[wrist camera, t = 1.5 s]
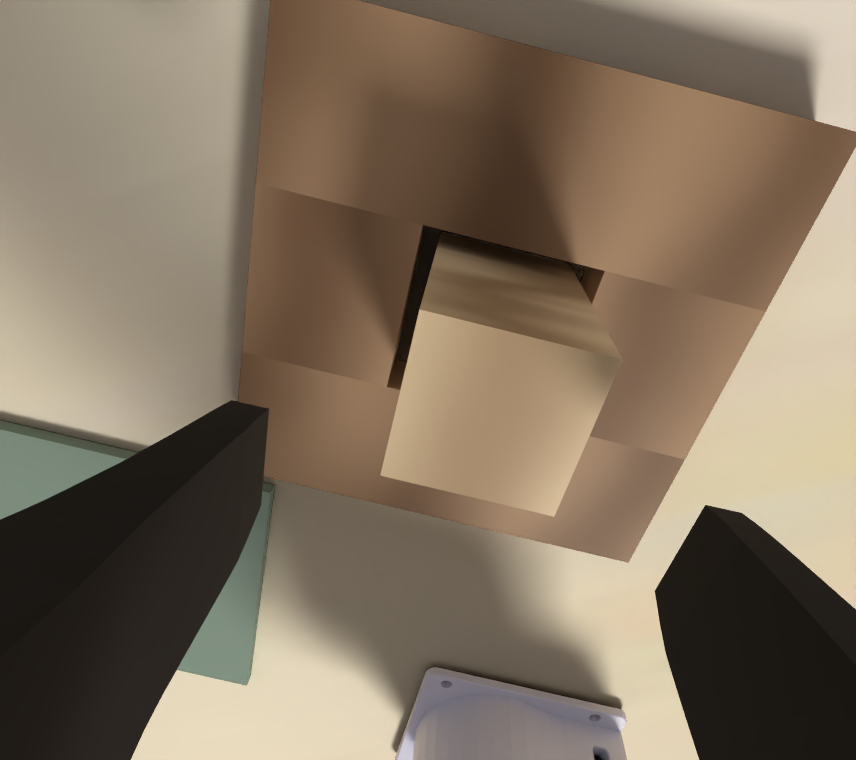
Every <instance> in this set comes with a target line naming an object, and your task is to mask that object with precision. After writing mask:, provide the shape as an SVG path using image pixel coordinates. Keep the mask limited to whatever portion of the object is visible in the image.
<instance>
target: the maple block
mask: <svg viewBox="0 0 856 760" xmlns="http://www.w3.org/2000/svg"><path fill="white" fill-rule="evenodd" d="M622 360H623V359H622V357H621V356H620V354H619V352H618V350H617V348H616V347H615V345H614V343H613V341H612V340H611V338H610V336H609V334H608V332H607V331H606V329H605V327H604V325H603V323H602V322H601V320H600V318H599V316H598V314H597V313H596V311H595V309H594V307H593V305H592V304H591V302H590V300H589V298H588V297H587V295H586V293H585V291H584V289H583V288H582V286H581V284H580V282H579V280H578V279H577V277H576V275H575V273H574V271H573V270H572V268H571V266H570V264H567V263H563V262H559V261H556V260H552V259H548V258H544V257H540V256H536V255H532V254H528V253H524V252H520V251H516V250H512V249H508V248H504V247H500V246H496V245H492V244H488V243H484V242H480V241H476V240H472V239H468V238H464V237H460V236H456V235H452V234H448V233H444V232H441V235H440V238H439V242H438V246H437V249H436V253H435V256H434V260H433V263H432V267H431V270H430V274H429V277H428V281H427V284H426V288H425V291H424V295H423V299H422V302H421V306H420V309H419V313H418V318H417V322H416V326H415V330H414V335H413V339H412V343H411V347H410V352H409V356H408V360H407V364H406V368H405V373H404V377H403V381H402V385H401V390H400V394H399V398H398V402H397V407H396V411H395V415H394V419H393V424H392V428H391V432H390V436H389V441H388V445H387V449H386V453H385V458H384V462H383V466H382V470H381V475H380V476H385V477H389V478H393V479H397V480H401V481H406V482H410V483H414V484H418V485H423V486H427V487H431V488H435V489H439V490H444V491H448V492H452V493H456V494H460V495H465V496H469V497H473V498H477V499H482V500H486V501H490V502H494V503H498V504H503V505H507V506H511V507H515V508H520V509H524V510H528V511H532V512H536V513H541V514H545V515H549V516H553V517H554V516H555V514H556V512H557V509H558V507H559V505H560V502H561V500H562V498H563V496H564V493H565V491H566V489H567V486H568V484H569V482H570V480H571V477H572V475H573V473H574V470H575V468H576V466H577V463H578V461H579V459H580V457H581V454H582V452H583V450H584V447H585V445H586V443H587V441H588V438H589V436H590V434H591V431H592V429H593V427H594V424H595V422H596V420H597V418H598V415H599V413H600V411H601V408H602V406H603V404H604V402H605V399H606V397H607V395H608V392H609V390H610V388H611V386H612V383H613V381H614V379H615V376H616V374H617V372H618V369H619V367H620V365H621V363H622Z"/></svg>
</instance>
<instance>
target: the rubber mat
mask: <svg viewBox="0 0 856 760" xmlns="http://www.w3.org/2000/svg"><path fill="white" fill-rule="evenodd" d="M135 454H137V452H133V451H129V450H124V449H120V448H116V447H112V446H107V445H103V444H99V443H95V442H90V441H86V440H82V439H78V438H74V437H69V436H65V435H61V434H57V433H52V432H48V431H44V430H40V429H35V428H31V427H27V426H23V425H18V424H14V423H10V422H6V421H2V420H0V519H3V518H5V517H7V516H10V515H12V514H14V513H16V512H19V511H21V510H23V509H26V508H28V507H30V506H32V505H34V504H37V503H39V502H41V501H43V500H45V499H48V498H50V497H52V496H54V495H56V494H58V493H60V492H62V491H64V490H66V489H68V488H70V487H72V486H74V485H76V484H78V483H80V482H82V481H84V480H86V479H88V478H90V477H92V476H94V475H96V474H98V473H100V472H102V471H104V470H106V469H108V468H110V467H112V466H114V465H116V464H118V463H120V462H122V461H124V460H126V459H128V458H130V457H131V456H133V455H135ZM274 488H275V485H273V484H268V483H264V482H263V489H262V501H261V507H260V510H259V512H258V515H257V517H256V520H255V522H254V524H253V527H252V529H251V532H250V534H249V537H248V539H247V541H246V544H245V546H244V548H243V551H242V553H241V555H240V558H239V560H238V562H237V564H236V566H235V567H234V569H233V571H232V573H231V575H230V577H229V578H228V580H227V582H226V584H225V585H224V587H223V589H222V591H221V593H220V594H219V596H218V598H217V600H216V601H215V603H214V605H213V607H212V609H211V610H210V612H209V614H208V616H207V617H206V619H205V621H204V623H203V624H202V626H201V628H200V630H199V631H198V633H197V635H196V637H195V638H194V640H193V642H192V644H191V645H190V647H189V649H188V651H187V652H186V654H185V656H184V658H183V660H182V661H181V663H180V665H179V667H178V668H177V670H180V671H184V672H189V673H193V674H197V675H202V676H206V677H211V678H215V679H220V680H224V681H229V682H233V683H238V684H242V685H246V686H247V684H248V681H249V679H250V676H251V669H252V661H253V653H254V645H255V637H256V629H257V622H258V614H259V606H260V598H261V590H262V582H263V574H264V567H265V559H266V551H267V543H268V535H269V527H270V519H271V512H272V504H273V496H274Z"/></svg>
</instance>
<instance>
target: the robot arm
mask: <svg viewBox="0 0 856 760" xmlns="http://www.w3.org/2000/svg"><path fill="white" fill-rule="evenodd" d="M268 417H269V408H264V407H259V406H255V405H250V404H246V403H241V402H237V401H232V400H231V401H230V402H228V403H226V404H224V405H222V406H220V407H218V408H217V409H215V410H213V411H211V412H210V413H208V414H206V415H204V416H203V417H201V418H199V419H197V420H196V421H194V422H192V423H190V424H189V425H187V426H185V427H183V428H182V429H180V430H178V431H176V432H175V433H173V434H171V435H169V436H168V437H166V438H164V439H162V440H160V441H159V442H157V443H155V444H153V445H151V446H150V447H148V448H146V449H144V450H142V451H140V452H139V453H137V454H135V455H133V456H131V457H130V458H128V459H126V460H124V461H122V462H120V463H118V464H116V465H114V466H112V467H110V468H108V469H106V470H104V471H102V472H100V473H98V474H96V475H94V476H92V477H90V478H88V479H86V480H84V481H82V482H80V483H78V484H76V485H74V486H72V487H70V488H68V489H66V490H64V491H62V492H60V493H58V494H56V495H54V496H52V497H50V498H48V499H45V500H43V501H41V502H39V503H37V504H34V505H32V506H30V507H28V508H26V509H23V510H21V511H19V512H16V513H14V514H12V515H10V516H7V517H5V518H3V519H0V760H131V758H132V755H133V753H134V751H135V749H136V747H137V745H138V742H139V740H140V738H141V736H142V734H143V732H144V729H145V727H146V725H147V724H148V722H149V720H150V718H151V716H152V714H153V712H154V710H155V708H156V706H157V704H158V702H159V700H160V699H161V697H162V695H163V693H164V691H165V689H166V688H167V686H168V684H169V682H170V681H171V679H172V677H173V675H174V674H175V672H176V670H177V668H178V667H179V665H180V663H181V661H182V660H183V658H184V656H185V654H186V652H187V651H188V649H189V647H190V645H191V644H192V642H193V640H194V638H195V637H196V635H197V633H198V631H199V630H200V628H201V626H202V624H203V623H204V621H205V619H206V617H207V616H208V614H209V612H210V610H211V609H212V607H213V605H214V603H215V601H216V600H217V598H218V596H219V594H220V593H221V591H222V589H223V587H224V585H225V584H226V582H227V580H228V578H229V577H230V575H231V573H232V571H233V569H234V567H235V566H236V564H237V562H238V560H239V558H240V555H241V553H242V551H243V548H244V546H245V544H246V541H247V539H248V537H249V534H250V532H251V529H252V527H253V524H254V522H255V520H256V517H257V515H258V512H259V510H260V507H261V501H262V489H263V477H264V465H265V453H266V441H267V429H268ZM655 594H656V601H657V607H658V614H659V620H660V626H661V631H662V636H663V641H664V646H665V651H666V655H667V658H668V662H669V665H670V669H671V672H672V675H673V678H674V682H675V685H676V688H677V691H678V694H679V698H680V701H681V704H682V707H683V710H684V713H685V717H686V720H687V723H688V726H689V729H690V732H691V735H692V738H693V741H694V745H695V748H696V751H697V754H698V757H699V760H856V609H855V608H853V607H852V606H851V605H850V604H849V603H848V602H847V601H845V600H844V599H843V598H842V597H841V596H840V595H839V594H837V593H836V592H835V591H834V590H833V589H832V588H831V587H829V586H828V585H827V584H826V583H825V582H824V581H823V580H822V579H820V578H819V577H818V576H817V575H816V574H815V573H814V572H812V571H811V570H810V569H809V568H808V567H807V566H806V565H804V564H803V563H802V562H801V561H800V560H799V559H798V558H796V557H795V556H794V555H793V554H792V553H791V552H790V551H788V550H787V549H786V548H785V547H784V546H783V545H781V544H780V543H779V542H778V541H777V540H776V539H774V538H773V537H772V536H771V535H770V534H768V533H767V532H766V531H765V530H763V529H762V528H761V527H760V526H758V525H757V524H756V523H755V522H753V521H752V520H750V519H749V518H748V517H746V516H745V515H744V514H742V513H739V512H735V511H730V510H726V509H721V508H716V507H712V506H707V505H705V507H704V508H703V510H702V512H701V514H700V515H699V517H698V519H697V520H696V522H695V524H694V525H693V527H692V529H691V531H690V532H689V534H688V536H687V537H686V539H685V541H684V542H683V544H682V546H681V548H680V549H679V551H678V553H677V554H676V556H675V558H674V559H673V561H672V563H671V565H670V566H669V568H668V570H667V571H666V573H665V575H664V576H663V578H662V580H661V582H660V583H659V585H658V587H657V588H656V590H655ZM626 722H627V720H626V716H625V713H624V712H623V711H622V710H620V709H618V708H613V707H609V706H605V705H600V704H596V703H591V702H587V701H583V700H578V699H574V698H570V697H565V696H561V695H556V694H552V693H548V692H543V691H539V690H534V689H530V688H526V687H521V686H517V685H513V684H508V683H504V682H499V681H495V680H491V679H486V678H482V677H477V676H473V675H469V674H464V673H460V672H456V671H451V670H447V669H442V668H437V667H433V668H430V669H428V670H427V671H426V673H425V675H424V678H423V681H422V684H421V687H420V689H419V692H418V695H417V698H416V701H415V703H414V706H413V709H412V712H411V714H410V717H409V720H408V723H407V726H406V728H405V731H404V734H403V737H402V740H401V742H400V745H399V748H398V751H397V754H396V756H395V760H627V757H626V753H625V749H624V744H623V740H622V735H621V731H622V729H623V728H624V726H625V725H626Z"/></svg>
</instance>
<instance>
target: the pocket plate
mask: <svg viewBox="0 0 856 760" xmlns="http://www.w3.org/2000/svg"><path fill="white" fill-rule="evenodd" d="M855 147H856V132H855V131H851V130H847V129H843V128H840V127H836V126H832V125H828V124H824V123H821V122H817V121H813V120H809V119H806V118H802V117H798V116H794V115H790V114H787V113H783V112H779V111H775V110H771V109H768V108H764V107H760V106H756V105H753V104H749V103H745V102H741V101H737V100H734V99H730V98H726V97H722V96H719V95H715V94H711V93H707V92H703V91H700V90H696V89H692V88H688V87H684V86H681V85H677V84H673V83H669V82H666V81H662V80H658V79H654V78H650V77H647V76H643V75H639V74H635V73H631V72H628V71H624V70H620V69H616V68H613V67H609V66H605V65H601V64H597V63H594V62H590V61H586V60H582V59H578V58H575V57H571V56H567V55H563V54H560V53H556V52H552V51H548V50H544V49H541V48H537V47H533V46H529V45H526V44H522V43H518V42H514V41H510V40H507V39H503V38H499V37H495V36H491V35H488V34H484V33H480V32H476V31H473V30H469V29H465V28H461V27H457V26H454V25H450V24H446V23H442V22H438V21H435V20H431V19H427V18H423V17H420V16H416V15H412V14H408V13H404V12H401V11H397V10H393V9H389V8H386V7H382V6H378V5H374V4H370V3H367V2H363V1H359V0H270V12H269V24H268V37H267V49H266V62H265V74H264V86H263V99H262V111H261V123H260V136H259V148H258V160H257V173H256V185H255V198H254V210H253V222H252V235H251V247H250V259H249V272H248V284H247V296H246V309H245V321H244V333H243V346H242V358H241V371H240V383H239V395H238V402H241V403H246V404H250V405H255V406H259V407H264V408H269V417H268V429H267V441H266V453H265V465H264V477H269V478H273V479H277V480H281V481H285V482H290V483H294V484H298V485H302V486H307V487H311V488H315V489H319V490H324V491H328V492H332V493H336V494H340V495H345V496H349V497H353V498H357V499H362V500H366V501H370V502H374V503H379V504H383V505H387V506H391V507H395V508H400V509H404V510H408V511H412V512H417V513H421V514H425V515H429V516H433V517H438V518H442V519H446V520H450V521H455V522H459V523H463V524H467V525H472V526H476V527H480V528H484V529H488V530H493V531H497V532H501V533H505V534H510V535H514V536H518V537H522V538H527V539H531V540H535V541H539V542H543V543H548V544H552V545H556V546H560V547H565V548H569V549H573V550H577V551H581V552H586V553H590V554H594V555H598V556H603V557H607V558H611V559H615V560H620V561H624V562H629V561H630V559H631V557H632V555H633V553H634V551H635V550H636V548H637V546H638V544H639V542H640V540H641V539H642V537H643V535H644V533H645V531H646V529H647V528H648V526H649V524H650V522H651V520H652V518H653V517H654V515H655V513H656V511H657V509H658V507H659V506H660V504H661V502H662V500H663V498H664V497H665V495H666V493H667V491H668V489H669V487H670V486H671V484H672V482H673V480H674V478H675V476H676V475H677V473H678V471H679V469H680V467H681V465H682V464H683V462H684V460H685V458H686V456H687V454H688V453H689V451H690V449H691V447H692V445H693V443H694V442H695V440H696V438H697V436H698V434H699V433H700V431H701V429H702V427H703V425H704V423H705V422H706V420H707V418H708V416H709V414H710V412H711V411H712V409H713V407H714V405H715V403H716V401H717V400H718V398H719V396H720V394H721V392H722V390H723V389H724V387H725V385H726V383H727V381H728V379H729V378H730V376H731V374H732V372H733V370H734V369H735V367H736V365H737V363H738V361H739V359H740V358H741V356H742V354H743V352H744V350H745V348H746V347H747V345H748V343H749V341H750V339H751V337H752V336H753V334H754V332H755V330H756V328H757V326H758V325H759V323H760V321H761V319H762V317H763V315H764V314H765V312H766V310H767V308H768V306H769V305H770V303H771V301H772V299H773V297H774V295H775V294H776V292H777V290H778V288H779V286H780V284H781V283H782V281H783V279H784V277H785V275H786V273H787V272H788V270H789V268H790V266H791V264H792V262H793V261H794V259H795V257H796V255H797V253H798V251H799V250H800V248H801V246H802V244H803V242H804V241H805V239H806V237H807V235H808V233H809V231H810V230H811V228H812V226H813V224H814V222H815V220H816V219H817V217H818V215H819V213H820V211H821V209H822V208H823V206H824V204H825V202H826V200H827V198H828V197H829V195H830V193H831V191H832V189H833V187H834V186H835V184H836V182H837V180H838V178H839V176H840V175H841V173H842V171H843V169H844V167H845V166H846V164H847V162H848V160H849V158H850V156H851V155H852V153H853V151H854V149H855ZM426 226H429V227H433V228H437V229H441V230H445V231H449V232H453V233H457V234H461V235H465V236H469V237H473V238H477V239H481V240H485V241H489V242H493V243H496V244H500V245H504V246H508V247H512V248H516V249H520V250H524V251H528V252H532V253H536V254H540V255H544V256H548V257H552V258H556V259H560V260H564V261H568V262H572V263H576V264H580V265H584V266H586V268H585V271H584V274H583V277H582V279H581V282H580V284H581V286H582V288H583V289H584V291H585V293H586V295H587V297H588V298H589V300H590V302H591V304H592V305H593V307H594V309H595V311H596V313H597V314H598V316H599V318H600V320H601V322H602V323H603V325H604V327H605V329H606V331H607V332H608V334H609V336H610V338H611V340H612V341H613V343H614V345H615V347H616V348H617V350H618V352H619V354H620V356H621V357H622V359H623V360H622V363H621V365H620V367H619V369H618V372H617V374H616V376H615V379H614V381H613V383H612V386H611V388H610V390H609V392H608V395H607V397H606V399H605V402H604V404H603V406H602V408H601V411H600V413H599V415H598V418H597V420H596V422H595V424H594V427H593V429H592V431H591V434H590V436H589V438H588V441H587V443H586V445H585V447H584V450H583V452H582V454H581V457H580V459H579V461H578V463H577V466H576V468H575V470H574V473H573V475H572V477H571V480H570V482H569V484H568V486H567V489H566V491H565V493H564V496H563V498H562V500H561V502H560V505H559V507H558V509H557V512H556V514H555V516H554V517H553V516H549V515H545V514H541V513H536V512H532V511H528V510H524V509H520V508H515V507H511V506H507V505H503V504H498V503H494V502H490V501H486V500H482V499H477V498H473V497H469V496H465V495H460V494H456V493H452V492H448V491H444V490H439V489H435V488H431V487H427V486H423V485H418V484H414V483H410V482H406V481H401V480H397V479H393V478H389V477H385V476H380V475H381V470H382V466H383V462H384V458H385V453H386V449H387V445H388V441H389V436H390V432H391V428H392V424H393V419H394V415H395V411H396V407H397V402H398V398H399V394H400V390H401V385H402V381H403V377H404V373H405V368H406V364H407V362H403V361H399V360H396V355H397V351H398V346H399V342H400V338H401V333H402V329H403V324H404V320H405V315H406V311H407V307H408V302H409V298H410V293H411V289H412V284H413V280H414V275H415V271H416V267H417V262H418V258H419V253H420V249H421V244H422V240H423V235H424V231H425V227H426Z"/></svg>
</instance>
